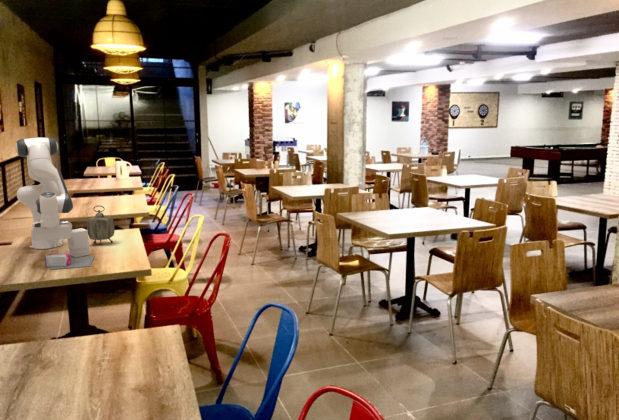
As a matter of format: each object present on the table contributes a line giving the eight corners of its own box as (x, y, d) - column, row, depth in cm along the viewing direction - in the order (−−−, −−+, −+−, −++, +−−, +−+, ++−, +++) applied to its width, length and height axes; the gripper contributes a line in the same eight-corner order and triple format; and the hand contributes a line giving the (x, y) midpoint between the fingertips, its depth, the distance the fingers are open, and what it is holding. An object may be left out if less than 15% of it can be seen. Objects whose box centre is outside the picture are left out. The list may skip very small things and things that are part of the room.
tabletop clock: (115, 242, 332) (112, 204, 327) (110, 245, 323) (107, 206, 318) (93, 242, 332) (89, 204, 327) (87, 246, 323) (83, 207, 318)
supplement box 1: (45, 266, 278) (65, 266, 277) (44, 256, 277) (64, 256, 276) (51, 263, 284) (71, 263, 283) (50, 253, 283) (70, 253, 282)
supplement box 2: (84, 252, 309) (82, 227, 306) (90, 254, 303) (88, 230, 300) (68, 255, 303) (66, 230, 300) (74, 257, 297) (72, 232, 294)
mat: (56, 260, 292) (56, 259, 292) (94, 257, 298) (94, 256, 298) (49, 270, 273) (49, 269, 273) (90, 266, 279) (90, 265, 279)
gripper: (72, 220, 285) (74, 244, 287) (31, 222, 279) (34, 247, 282) (70, 222, 279) (73, 247, 281) (28, 225, 273) (31, 250, 276)
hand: (53, 247), depth 281 cm, fingers closed
